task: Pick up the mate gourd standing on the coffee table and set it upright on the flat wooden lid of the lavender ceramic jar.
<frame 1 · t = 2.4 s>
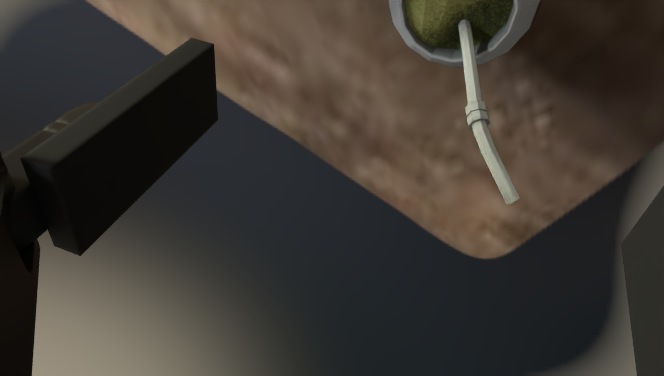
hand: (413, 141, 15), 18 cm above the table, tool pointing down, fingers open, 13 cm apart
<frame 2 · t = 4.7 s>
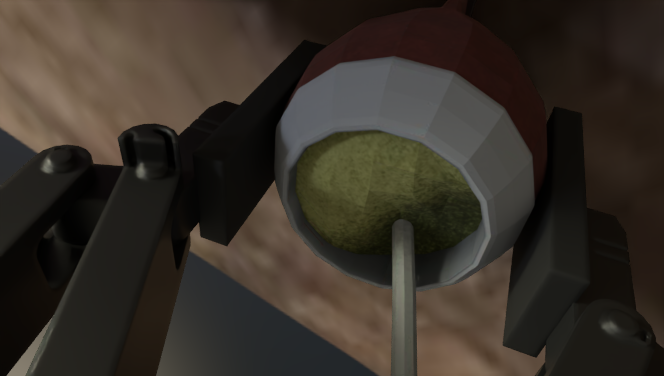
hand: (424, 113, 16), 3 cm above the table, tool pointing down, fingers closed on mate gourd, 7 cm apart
mate gourd: (453, 77, 18), on the table, touching gripper
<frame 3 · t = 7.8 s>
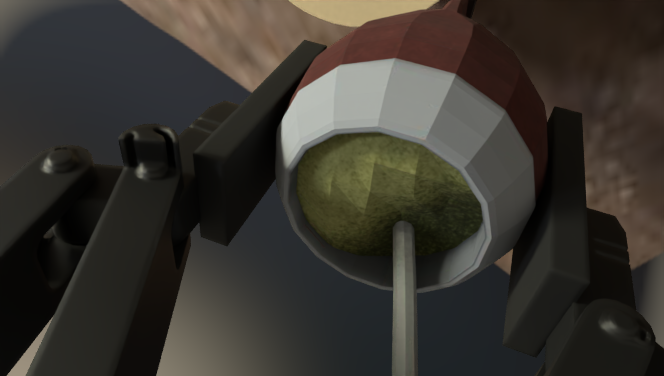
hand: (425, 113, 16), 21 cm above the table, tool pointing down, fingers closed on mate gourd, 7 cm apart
mate gourd: (454, 78, 18), point 19 cm above the table, touching gripper
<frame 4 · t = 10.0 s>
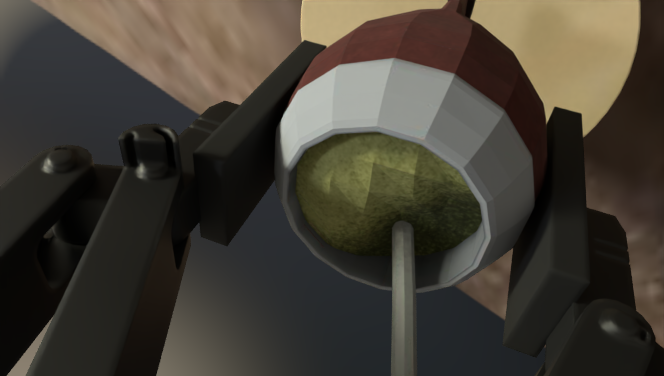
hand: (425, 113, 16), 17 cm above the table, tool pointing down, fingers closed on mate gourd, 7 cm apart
mate gourd: (453, 78, 18), point 14 cm above the table, touching gripper
when the fingers open (14 cm above the table, at t = 11.2 s): mate gourd stays where it is, resting on jar.
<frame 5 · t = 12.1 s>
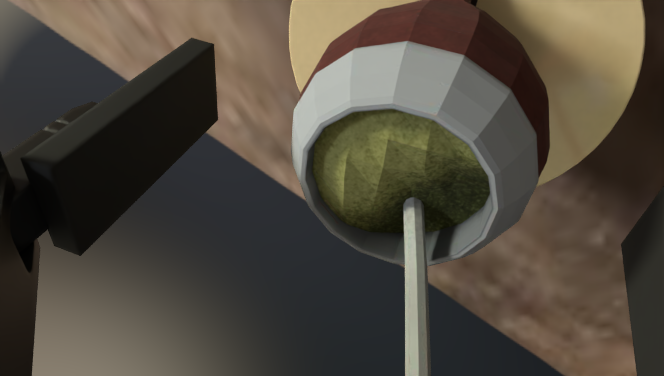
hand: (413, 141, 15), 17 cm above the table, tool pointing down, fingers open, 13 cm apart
mate gourd: (458, 67, 18), point 11 cm above the table, touching jar
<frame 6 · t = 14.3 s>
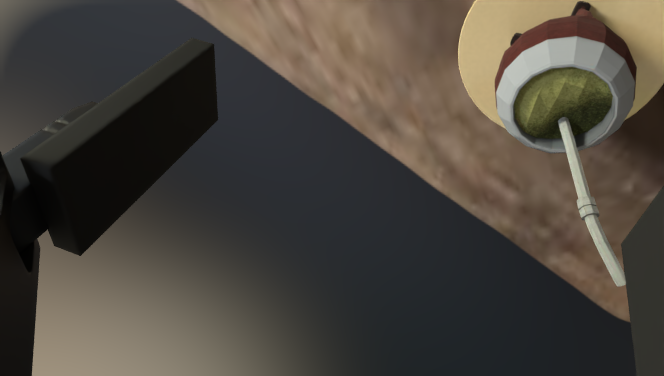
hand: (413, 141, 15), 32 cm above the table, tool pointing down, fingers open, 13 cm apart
mate gourd: (567, 54, 31), point 11 cm above the table, touching jar
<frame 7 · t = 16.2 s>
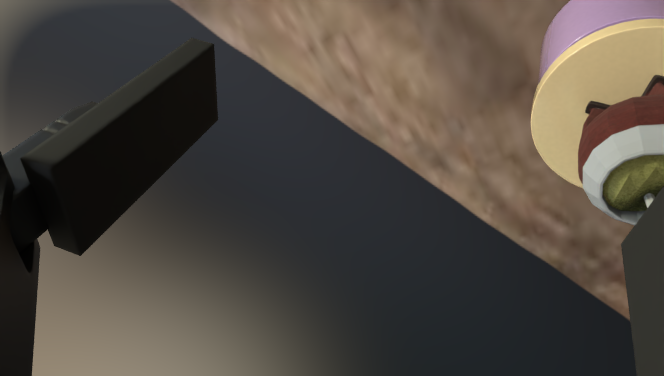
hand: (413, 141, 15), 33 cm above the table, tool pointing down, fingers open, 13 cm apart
mate gourd: (640, 120, 33), point 11 cm above the table, touching jar
jar: (619, 50, 41), on the table
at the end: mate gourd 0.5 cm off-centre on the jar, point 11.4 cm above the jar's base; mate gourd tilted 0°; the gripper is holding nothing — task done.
